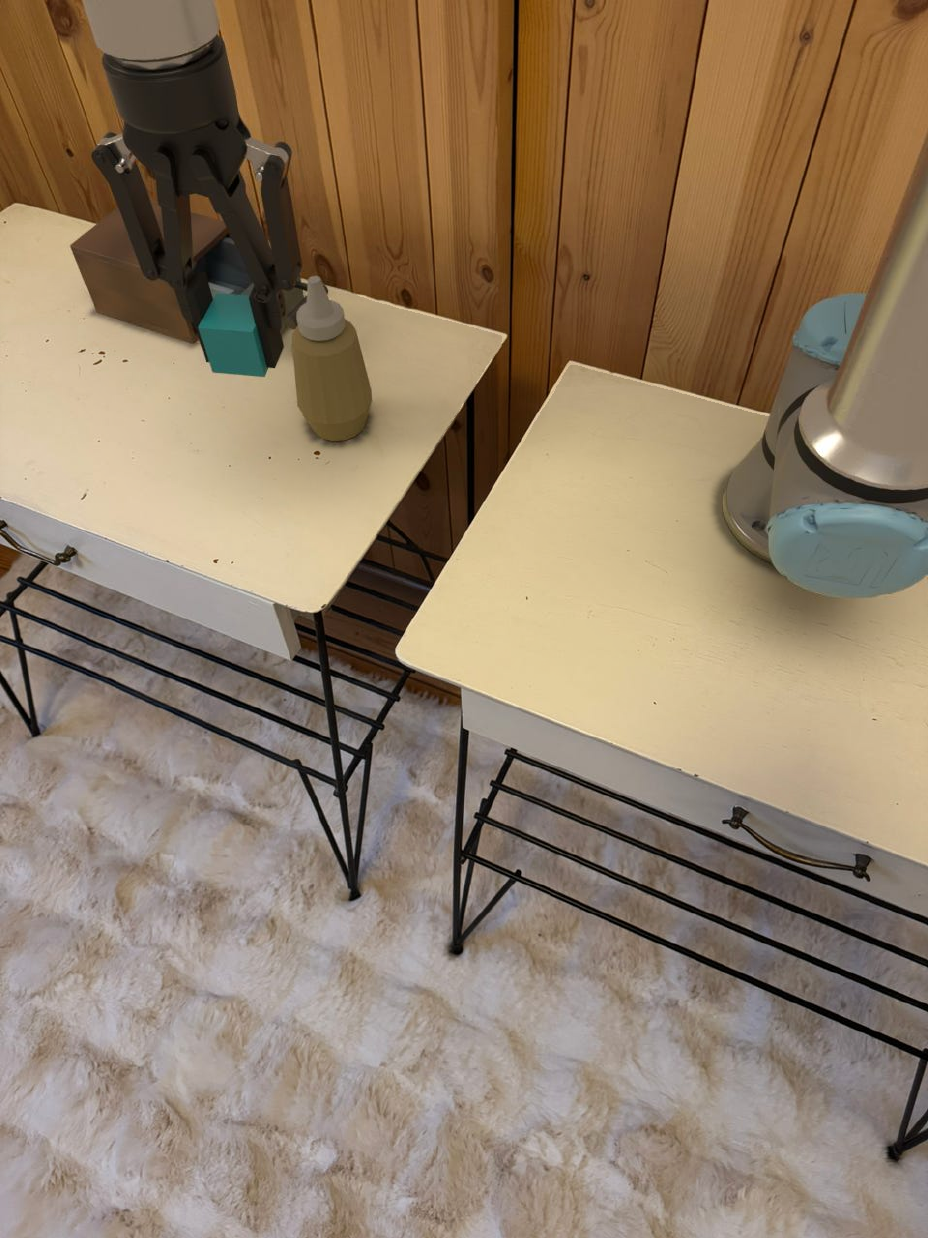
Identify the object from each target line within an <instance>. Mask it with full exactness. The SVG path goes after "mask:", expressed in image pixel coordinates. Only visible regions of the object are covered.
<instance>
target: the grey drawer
mask: <svg viewBox="0 0 928 1238" xmlns="http://www.w3.org/2000/svg"><path fill="white" fill-rule="evenodd" d="M196 272H205V273H206V276H207V280H208V283H209V287H210V290H211V294H212V297H213V298H214V296H215V294H216V293H223V294H235V295H248V296H250V294H251V292H252V290H253V288H254V284H253V282H252V279H251V277H250V275H249V273H248V271H247V269H246V267H245V265H244V263H243V261H242V259H241V256H240V254H239V252H238V250H237V248H236V246H235V244H234V242H233V240H232V239H231V238H227V237H224V238H222V239H221V240H220V241H219V242H218V243H217V244H216V245H215V246H214V247H213V248H211V249H210V250H209V251H208V252H207V253H206V254H205V255H204V256H203V257H202V258H201V259H199V260H198V261H197V264H196V265H195V267H194V269H193V271H192V273H193V276H194V274H195V273H196ZM322 284H323V286H324V289H325V291H326V293H327V296H328V295H329V289H328V287H327V285H325V284H324V283H322ZM307 288H308V283H307V282H306V283H305V282H302V278H301V273H300V274H299V276H298V279H297V281H296V283H295V285H294V288H293V289H292V290H290V291H286V290H283V289H282V291H283V296H284V300H285V305H286V310H287V315H286V319H285V321H284V323H283V325H282V328H281V329H280V330H281V332H282V331H283V330H284V329H285V328H286V327H287V328H288V329H289V330H291V331H292V330H293V331H294V330H295V328H296V327H297V326H298V324H297V319H296V315H297V311H298V309H299V308H300V307H301V306H302V305H303V304H305V303H306V302H307V295H305V294H304V292H307ZM192 325H193V328H195V325H194V322H192ZM195 329H196V328H195Z"/></svg>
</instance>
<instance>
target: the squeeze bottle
mask: <svg viewBox="0 0 928 1238" xmlns="http://www.w3.org/2000/svg"><path fill="white" fill-rule="evenodd" d="M307 284H308V288H307V291H306V296H307V302H306V303H305V304H303V305H302V306H301V307H300V308H299V309H298V311H297V315H296V319H297V324H298V326H297V327H296V328H295V329H294V330H293V331H292V333H291V350H292V360H293V372H294V373H293V374H294V383H295V394H296V407H297V408H298V410H299V411H300V412H301V414H302V416H303V417H304V419H305V420H306V421H307V423H308V425H309V426H310V428H311V429H312V430H313V431H314V433H315V434H316V435H317V436H318V437H319V438H322V439H323V440H326V441H331V442H340V441H343V442H344V441H347V440H350V439H353V438H355V437H356V436H358V435H359V434H360V433H362V431H363V430H364V428H365V426H366V423H367V421H368V417H369V413H370V409H371V405H372V402H373V390H372V385H371V382H370V379H369V375H368V370H367V367H366V364H365V358H364V355H363V352H362V348H361V345H360V340H359V337H358V332H357V329H356V327H355V326H354V325H353V323H352V322H351V321H350V320H347V318H346V317H345V309H344V307H343V306H342V304H340V303H339V302H338V301H335V300H333V299H330V298H329V296H328V295H327V293H326V291H325V289H324V286H323V284H324V283H323V281H322V279H321V277H320V276H318V275H312V276H310V277H309V278H308V279H307Z"/></svg>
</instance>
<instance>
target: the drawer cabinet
mask: <svg viewBox="0 0 928 1238" xmlns="http://www.w3.org/2000/svg"><path fill="white" fill-rule="evenodd" d="M150 201H151V204H152V207H153V210H154V213H155V216H156V219H157V222H158V225H159V228H160V231H161V234H162V237H163V240H164V234H163V223H162V212H161V207H160V206H159V205H158V201H154V200H150ZM191 225H192V242H193V258H194V263H195V261H198V260H199V259H201V258H202V257H203V256H204V255H205V254H206V253H207V252H208V251H209V250H210V249H211V248H213V247H214V246H215V245H216V244H217V243H218V242H219V241H220V240H221V239H222V238H224V237H227V238H231V236H230V233H229V231H228V229H227V227H226V225H225V223H224V221H223V219H218V218H215V217H211V216H207V215H203V214H200V213H197V212H193V211H191ZM231 239H232V238H231ZM69 248H70V250H71V253H72V255H73V257H74V261H75V262H76V265H77V268H78V270H79V272H80V275H81V277H82V280H83V282H84V284H85V287H86V290H87V292H88V294H89V297H90V299H91V302H92V304H93V307H94V309H95V311H96V313H98V314H100V315H104V316H107V317H110V318H113V319H116V320H119V321H123V322H125V323H128V324H132V325H133V326H138V327H140V328H143V329H147V330H150V331H153V332H156V333H159V334H162V335H165V336H168V337H170V338H174V339H177V340H181V341H182V342H186V343H190V344H192V345H194V344H195V343H196V342H197V341H198V340H199V337H198V334H197V331H196V329H195V328H193V325H192V322H187V321H186V320H185V319H184V318H183V316H182V314H181V311H180V308H179V304H178V301H177V298H176V295H175V292H174V289H173V288H172V287H171V286H170V285H169V284H168V282H166V281H164V280H161V279H157V280H155V281H151V280H149V279H147V278H146V277H145V276H144V275H143V273H142V270H141V268H140V265H139V262H138V259H137V257H136V254H135V251H134V249H133V246H132V243H131V241H130V238H129V235H128V233H127V230H126V227H125V224H124V222H123V219H122V216H121V214H120V211H119V208H118V206H117V207H116V208H115V209H114V210H112V211H111V212H110V213H108V214H107V215H106V216H105V217H103V218H102V219H100V221H98V222H97V223H96V224H95V225H93V226H92V227H91V228H90V229H88V230H87V231H86V232H85V233H84V234H82V235H81V236H80V237H79V238H77V239H76V240H75V241H73V242H72V243H71V244H70V245H69Z"/></svg>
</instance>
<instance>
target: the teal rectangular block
mask: <svg viewBox="0 0 928 1238" xmlns="http://www.w3.org/2000/svg"><path fill="white" fill-rule="evenodd" d="M198 328H199V331H200V334H201V338H202V341H203V344H204V347H205V350H206V354H207V357H208V360H209V362H208V363H209V366H210V369H211V372H212V373H214V374H223V375H235V376H246V377H259V378H265V377H266V374H267V372H268V370H269V368H267V366H266V362H265V358H264V354H263V350H262V346H261V342H260V338H259V334H258V330H257V326H256V325H255V321H254V317H253V313H252V309H251V305H250V301H249V296H248V295H235V294H223V293H216V294H215V296H214V298H213V300H212V302H211V304H210V306H209V308H208V310H207V312H206V314H205V316H204V318H203V320H202V321H201V323H200V325H199V327H198Z"/></svg>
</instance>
